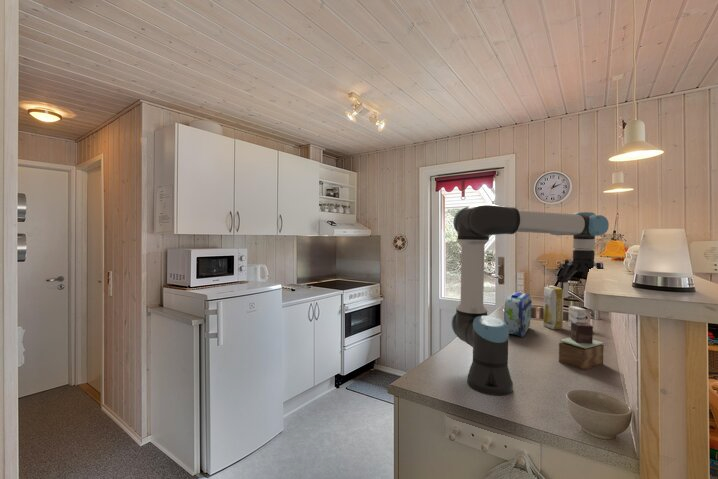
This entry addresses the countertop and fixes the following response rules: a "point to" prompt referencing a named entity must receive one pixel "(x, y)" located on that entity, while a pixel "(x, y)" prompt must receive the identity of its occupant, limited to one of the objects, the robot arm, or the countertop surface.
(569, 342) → the lid
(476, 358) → the robot arm
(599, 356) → the crate
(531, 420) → the countertop surface
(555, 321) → the juice carton
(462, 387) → the countertop surface
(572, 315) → the ink box
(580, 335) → the box
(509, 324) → the lunch box
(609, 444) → the countertop surface
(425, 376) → the countertop surface
